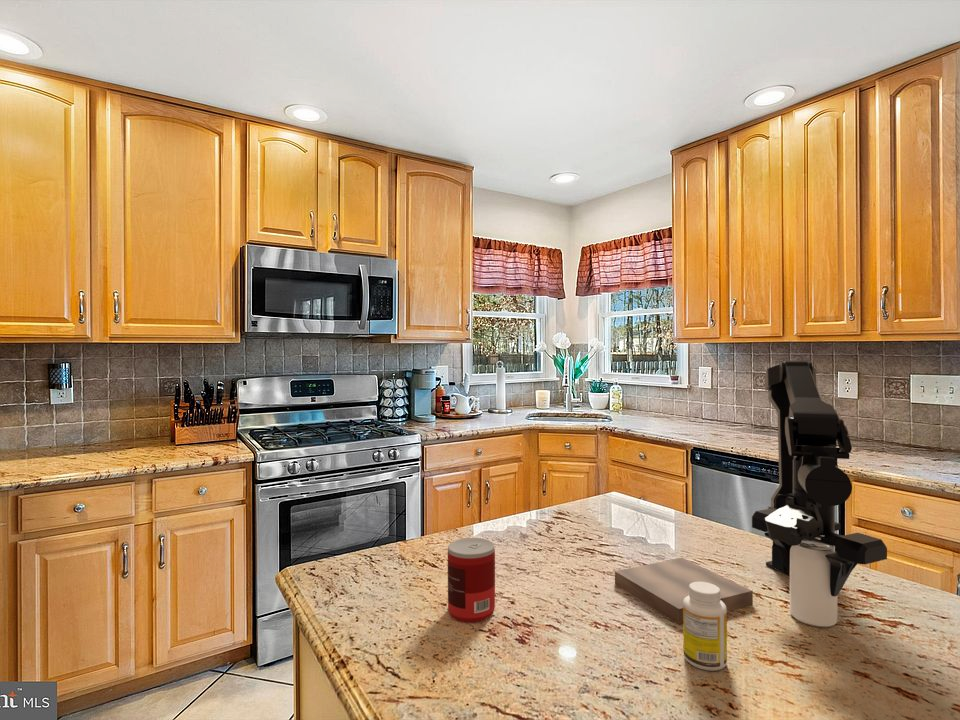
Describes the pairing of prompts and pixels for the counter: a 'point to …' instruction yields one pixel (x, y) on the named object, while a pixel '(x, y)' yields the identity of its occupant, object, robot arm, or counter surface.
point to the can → (812, 584)
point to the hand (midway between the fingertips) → (813, 587)
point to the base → (677, 586)
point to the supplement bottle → (705, 627)
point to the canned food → (471, 579)
